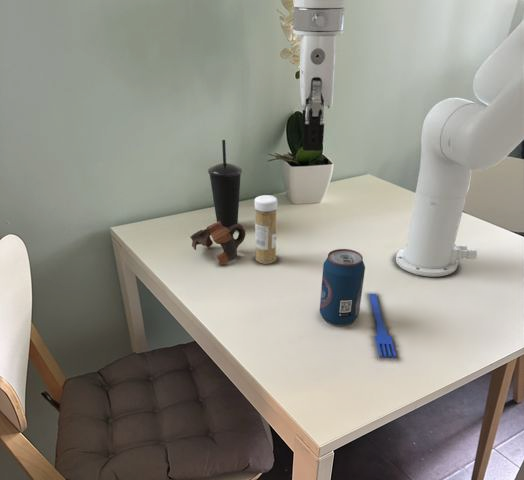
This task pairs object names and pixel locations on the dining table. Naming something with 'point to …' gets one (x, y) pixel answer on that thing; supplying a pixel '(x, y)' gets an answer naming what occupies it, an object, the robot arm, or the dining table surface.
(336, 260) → the soda can
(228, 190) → the drinking cup
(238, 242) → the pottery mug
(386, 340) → the blue fork
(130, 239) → the dining table surface
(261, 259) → the sprinkles bottle
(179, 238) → the dining table surface
